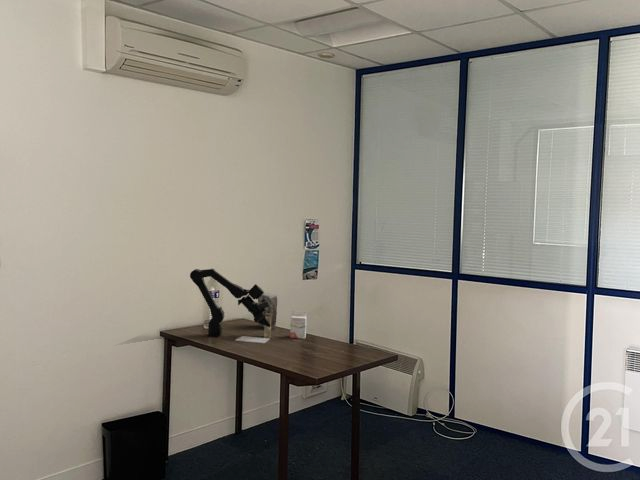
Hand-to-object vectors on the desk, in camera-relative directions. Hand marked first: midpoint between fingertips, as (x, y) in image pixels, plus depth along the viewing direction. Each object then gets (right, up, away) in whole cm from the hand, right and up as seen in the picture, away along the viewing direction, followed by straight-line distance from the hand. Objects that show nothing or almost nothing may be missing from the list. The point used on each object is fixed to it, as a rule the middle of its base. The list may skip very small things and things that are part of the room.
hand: (270, 325), depth 342 cm
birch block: (-2, -7, 0) cm, 7 cm away
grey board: (-9, -7, -8) cm, 14 cm away
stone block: (-4, -5, +26) cm, 26 cm away
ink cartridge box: (+15, -7, +3) cm, 17 cm away
